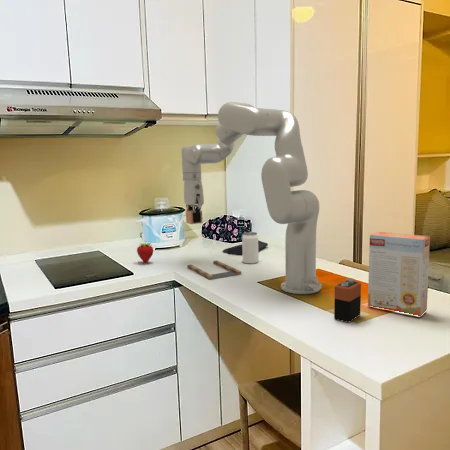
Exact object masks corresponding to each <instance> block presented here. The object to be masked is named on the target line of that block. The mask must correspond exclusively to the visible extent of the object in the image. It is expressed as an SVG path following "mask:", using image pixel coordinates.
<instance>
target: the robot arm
mask: <svg viewBox="0 0 450 450" xmlns="http://www.w3.org/2000/svg"><path fill="white" fill-rule="evenodd" d="M217 112H218V113H217V121H218V124H217V125H216V127H215V131H214V132H215V135H216V138H217V142H215V143H195V144H192V145H184V146H182V147H181V149H180V150H181V168H182V171H181V172H182V182H183V203H184V204H185V206H186V207H185V208H186V211H189V210H193V212H194V213H193V223H198V222H201V213H200V212H201V211H202V206H203V205H204V204H205V197H204V189H203V188H204V187H203V182H202V181H203V180H202V179H203V178H202V165H206V164H218V163H220V162H222V161H224V160H225V159H226V158H228V156H230V154H231V153H232V152H233V150H234V146H235V142H236V141H238V140H239V139H240V138H241V137H242V136H243V135H247V136H252V137H253V136H254V137H256V136H258V137H275V140H274V152H275V156H273V157H269V158H267V160H266V161H265V162H264V163H263V166H262V168H261V172H260V173H261V183H262V189H263V192H264V197H265V203H266V208H267V211H268V213H269V216H270V218H271V220H273V221H274V222H275V223H277V224H280V225H286V224H287V226H286V229H285V240H284V241H285V242H284V243H285V244H284V245H285V249H284V250H285V251H284V252H285V255H284V257H285V258H284V259H285V281H283V282H282V283H281V284H280V289H281V290H282V291H284V292H286V293H289V294H294V295H309V294H315V293H318V292H319V291H320V290H321V288H322V287H323V285H322V283H321V282H319V281H318V276H317V275H316V274H317V272H316V269H317V266H316V265H317V264H316V263H317V226H318V218H319V215H320V214H319V213H320V201H319V199H318V196H317V195H316V194H315V193H314V192H312V191H310V190H307V189H299V190H291V188H294V187H299V186H302V185H303V184H305V183H306V182H307V180H308V176H309V172H308V167H307V161H306V156H305V152H304V148H303V144H302V139H301V138H302V137H301V131H300V126H299V125H300V124H299V121H298V119H297V117H296V116H295V115H294V114H293V113H292V112H290V111H287V110H282V109H274V108H261V107H255V106H254V105H252V104H251V103H245V102H235V101H228V102H226V103H223V104H222V105H221V107H220V108H219V110H218V111H217ZM198 224H199V223H198Z"/></svg>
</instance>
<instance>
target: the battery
mask: <svg viewBox="0 0 450 450" xmlns="http://www.w3.org/2000/svg"><path fill="white" fill-rule="evenodd" d="M361 295H362V283H361V282H359V281H356V279H355V278H353V277H349V278H346V280H344V281H342V282H340V283H337V284H335V285H334V305H333V307H334V313H333V315H334V317H333V318H334V319H335V320H337V319H339V320H338V321H340V320H343V321H342V322H344V321H347V322H346V323H350V322H352V321H353V320H355V319H356V318H355V317H357V316H358V315H360V316H361V304H362V303H361V299H362V298H361ZM358 317H359V316H358ZM358 317H357V318H358ZM354 318H355V319H354ZM352 319H353V320H352ZM351 320H352V321H351ZM349 321H350V322H349Z"/></svg>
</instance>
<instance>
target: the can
mask: <svg viewBox="0 0 450 450" xmlns="http://www.w3.org/2000/svg"><path fill="white" fill-rule="evenodd" d="M241 238H242V241H241V242H242V243H241V245H242V253H243V256H242V263H244V264H247V265H253V264H254V265H255V264H257V263H258V262H259V251H258V240H259V236H258V232H254V231H248V232H243V233H242V236H241Z"/></svg>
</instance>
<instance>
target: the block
mask: <svg viewBox="0 0 450 450" xmlns="http://www.w3.org/2000/svg"><path fill="white" fill-rule="evenodd" d="M193 213H194V212H193V210H189V211H187V210H185V221H186V222H185V223H186V224H189V225H197V224H203V211H202V210H201V212H200V213H201V222H198V223H193Z"/></svg>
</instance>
